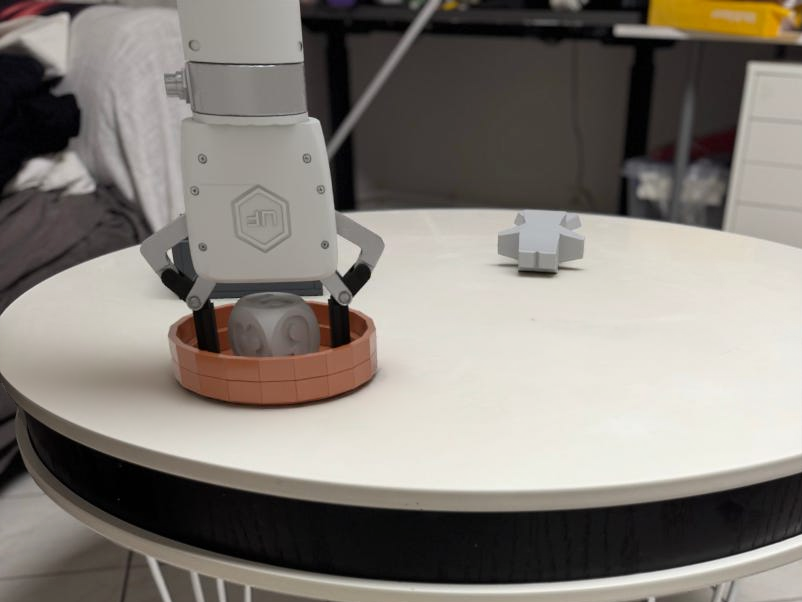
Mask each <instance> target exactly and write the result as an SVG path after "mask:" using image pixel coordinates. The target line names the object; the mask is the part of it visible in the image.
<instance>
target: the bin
mask: <svg viewBox="0 0 802 602" xmlns="http://www.w3.org/2000/svg"><path fill="white" fill-rule="evenodd" d="M182 214H183V213H180V214H179V216H180V215H182ZM170 250H171V255H172V263H173V264H174V265H175V266H176V267H177V268H178V269H179V270H181V271H182V272H183V273H184V274H185V275H187V276H188V277H189V278H190V279H191V280H192V281H193V280H194V278H195V276H196V275H197V273H196V271H195V269H194V266H193V262H192V257H191V252H190V246H189V238H188V237H187V238H186V239H184V240H183V241H181V242H180V243H178V244H177V245H175V246H174V247H172V248H171V249H170ZM323 287H324V285H323V284H322V283H321V281H320V280H315V281H299V282H265V283H217V284H216V285H215V287H214V289H213V290H212V292H211V294H210V295H209V299H228V298H229V299H231V298H233V299H234V298H242V297H244V296H247V295H251V294H256V293H266V292H281V293H290V294H295V295H298V296H300V297H302V296H323V295H324V288H323ZM179 300H182V299H181V298H179Z"/></svg>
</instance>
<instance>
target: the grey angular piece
mask: <svg viewBox="0 0 802 602" xmlns="http://www.w3.org/2000/svg"><path fill="white" fill-rule="evenodd" d="M513 224H514V225H516V226H514V227H511V228H506V229H504V230H500V231H498V232H497V255H500V256H503V257H507V258H510V259H513V260H516V261H518V263H517V271H519V272H520V271H521V272H522V271H523V272H537V273H538V272H539V273H555V274H557V273H558V269H559V264H561V263H567V262H572V261H577V260H582V259H583V258H584V253H585V252H584V251H585V242H586V241H585V240H586V238H585V236H584V235H581V234H579V233H577V232H575V231H573V230H577V229H579V228H580V229H581V227H582V222H581V218H580V216H579V214H578V213H574V212H573V213H571V212H570V213H567V211H562V210H541V209H524V210H519V211H518V212H517V214H516V216H515V219H514V221H513Z"/></svg>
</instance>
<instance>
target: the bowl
mask: <svg viewBox="0 0 802 602" xmlns="http://www.w3.org/2000/svg"><path fill="white" fill-rule="evenodd" d="M305 301H306V302H307V303H308V305H309V306H310V307H311V309H312V310H313V312H314V314H315V316H316V318H317V321H318V324H319V328H320V346H319V351H318V352H317V353H310V354H303V355H296V356H283V357H243V356H234V354H233V352H232V349H231V346H230V343H229V339H228V331H227V326H228V320H229V316H230V313H231V311H232V309H233V307H234V305H235V304H236V303H237V302H232V303H225V304H220V305H216V306H214V309H215V316H216V323H217V330H218V337H219V344H220V354H217V353H212V352H208V351H207V350H205V351H201V350H199V349H198V343H197V337H196V330H195V324H194V318H193V312H192V313H188V314H186V315H183V316H181V317H180V318H179V319H177V320H176V321H175V322H173V323H172V324H171V325H170V326H169V328H168V333H167V341H168V345H169V353H170V356H171V363H172V369H173V375H174V378H175V380H177V382H178V383H179V384H180V385H181V387H182V388H185V389H187V390H189V391H192V392H193V393H195V394H198V395H200V396H203V397H208V398H210V399H213V400H214V399H215V400H217V401H222V402H227V403H233V404H243V405H253V406H254V405H255V406H256V405H257V406H277V405H293V404H302V403H308V402H315V401H319V400H320V401H321V400H324V399H328V398H331V397H335V396H338V395H341V394H344V393H347V392H349V391H352V390H354V389H356V388H358V387H360V386H361V385H363V384H364V383H366V382H368V381H369V380H371V379H372V378H373V376H374V375H375V373H376V372H377V370H378V368H379V367H378V349H377V348H378V345H377V327H376V325H375V322H374V320H373V318H372V317H370V316H368V315H367V314H366V313H364V312H363V311H361V310H358V309H354V308H351V307H349V322H350V339H351V343H349V344H347V345H342V346H341V347H337V348H334V349H331V338H330V324H329V310H328V302H323V301H317V300H316V301H315V300H305Z"/></svg>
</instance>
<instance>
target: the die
mask: <svg viewBox="0 0 802 602" xmlns="http://www.w3.org/2000/svg"><path fill="white" fill-rule="evenodd" d="M306 301H307V300H305V299H304V298H302V296H298V295H295V294H290V293H281V292H266V293H256V294H251V295H247V296H244V297H239V299H238V300H237V301H236V302H235V303H236V304H235V305H234V307H233V309H232V311H231V313H230V316H229V320H228V326H227V331H228V339H229V343H230V346H231V349H232V352H233V354H234V356H243V357H283V356H296V355H303V354H310V353H317V352H318V351H319V346H320V328H319V324H318V321H317V318H316V316H315V314H314V312H313V310H312V309H311V307H310V306H309V305H308V303H307V302H306Z"/></svg>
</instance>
